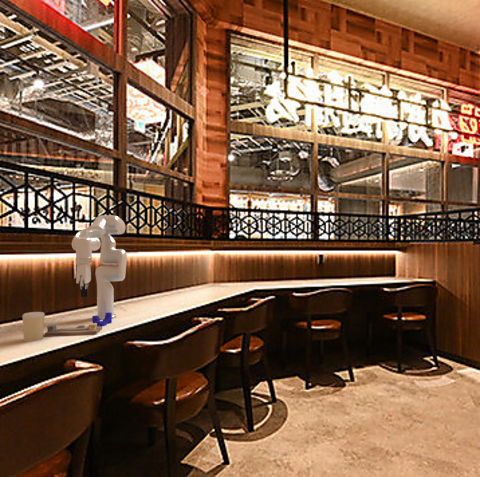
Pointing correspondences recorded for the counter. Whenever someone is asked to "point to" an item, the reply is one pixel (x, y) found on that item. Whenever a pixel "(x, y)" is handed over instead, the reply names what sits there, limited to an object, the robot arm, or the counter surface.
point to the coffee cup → (33, 326)
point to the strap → (72, 328)
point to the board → (91, 331)
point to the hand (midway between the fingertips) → (84, 296)
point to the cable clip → (106, 320)
